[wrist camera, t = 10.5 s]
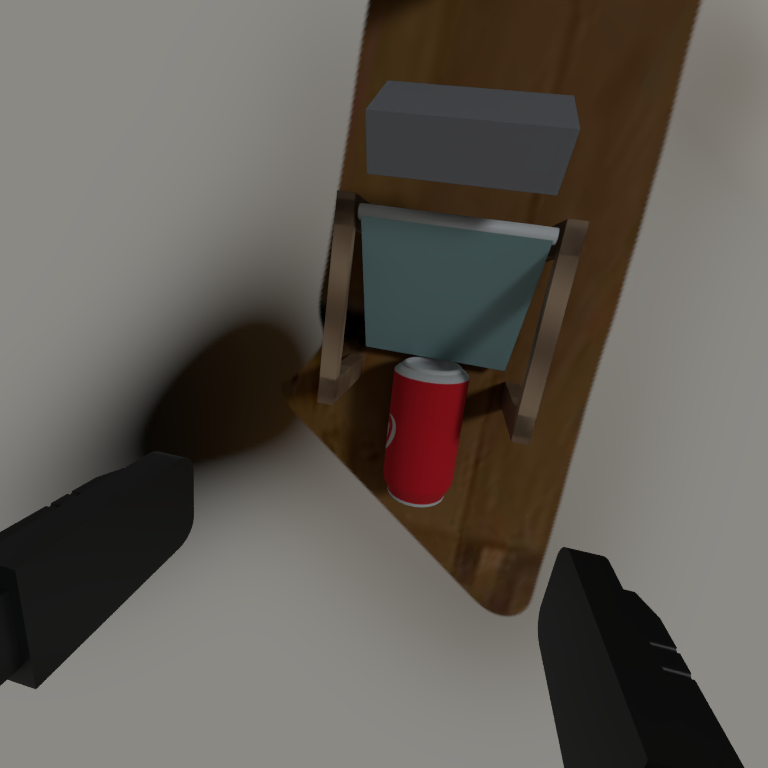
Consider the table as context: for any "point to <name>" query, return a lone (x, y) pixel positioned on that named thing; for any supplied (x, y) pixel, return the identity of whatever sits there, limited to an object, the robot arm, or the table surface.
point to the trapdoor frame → (515, 400)
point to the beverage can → (424, 429)
